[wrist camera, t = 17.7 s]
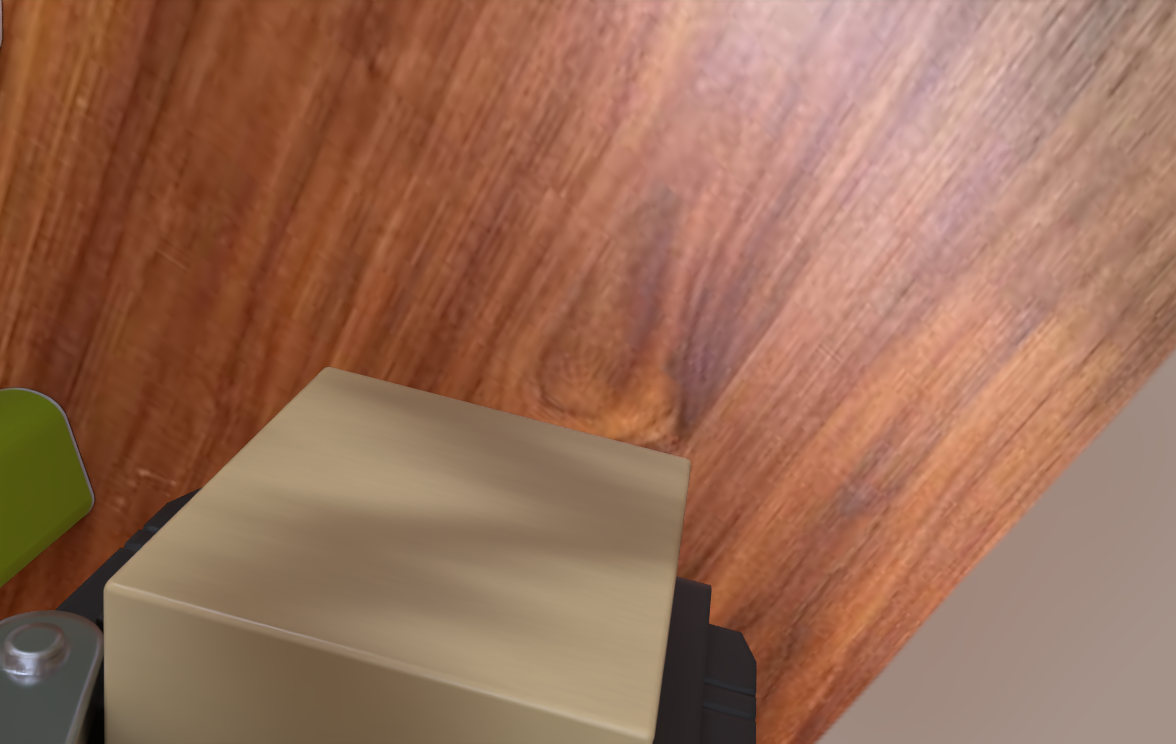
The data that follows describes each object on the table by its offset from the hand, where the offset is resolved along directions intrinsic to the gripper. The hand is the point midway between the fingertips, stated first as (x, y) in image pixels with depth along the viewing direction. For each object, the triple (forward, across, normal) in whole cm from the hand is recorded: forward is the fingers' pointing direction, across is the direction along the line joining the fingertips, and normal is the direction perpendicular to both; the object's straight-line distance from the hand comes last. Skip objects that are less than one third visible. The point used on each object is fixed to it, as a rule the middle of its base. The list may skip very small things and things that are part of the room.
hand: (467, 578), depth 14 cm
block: (0, 0, 0) cm, 0 cm away
